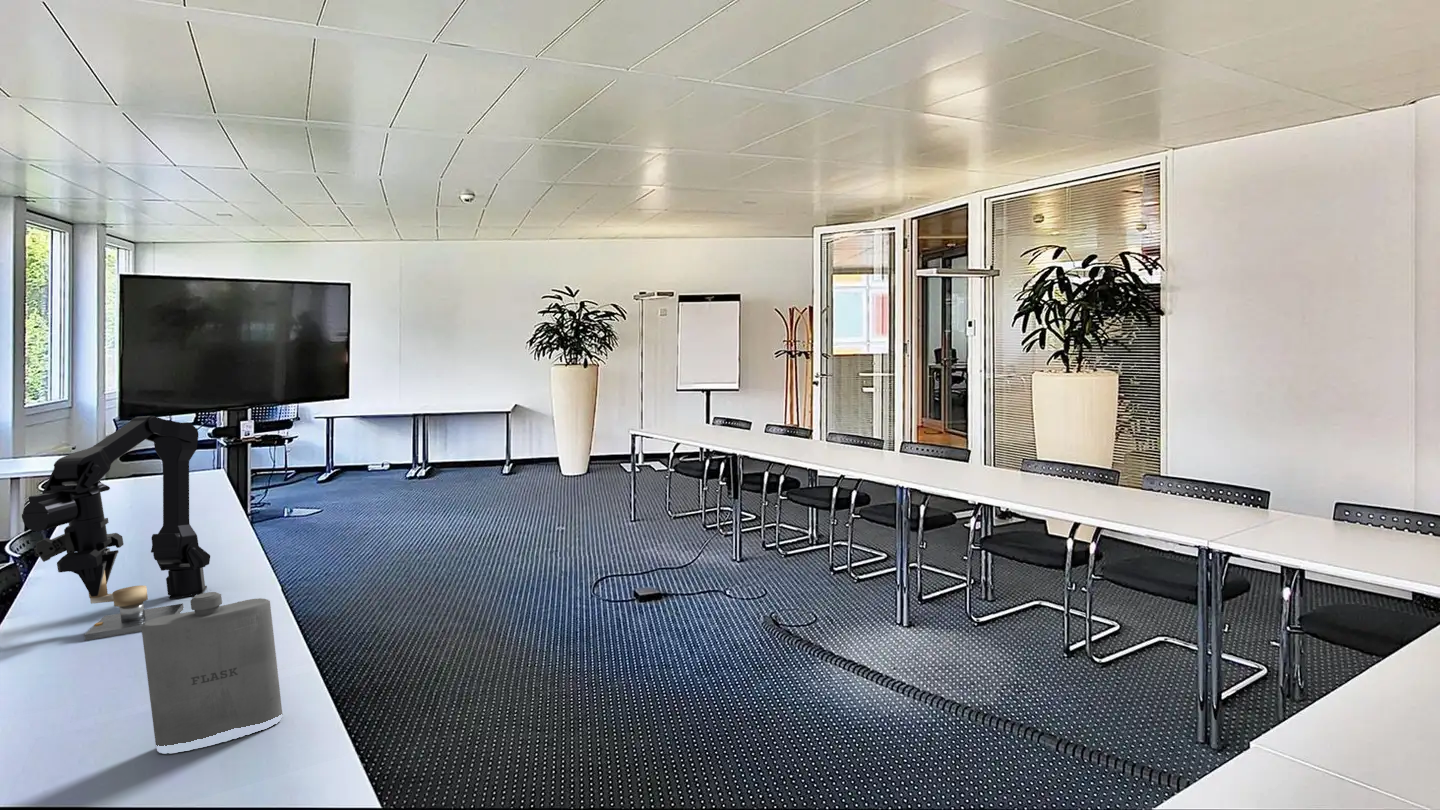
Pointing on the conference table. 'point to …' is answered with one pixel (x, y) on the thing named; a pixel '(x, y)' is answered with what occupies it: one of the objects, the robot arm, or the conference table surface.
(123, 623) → the base
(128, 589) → the crank handle
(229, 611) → the flask
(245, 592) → the conference table surface
